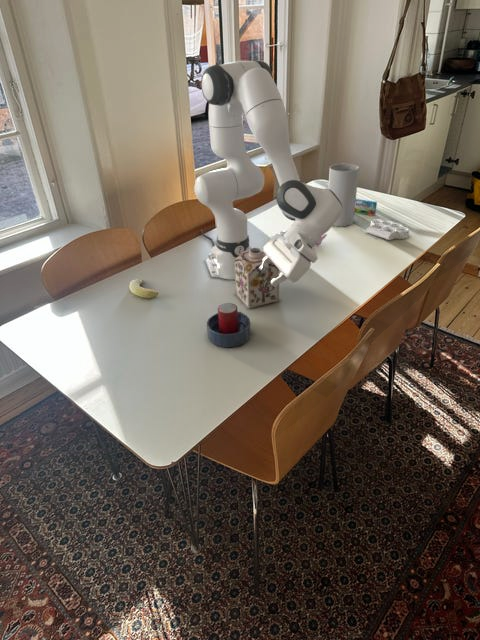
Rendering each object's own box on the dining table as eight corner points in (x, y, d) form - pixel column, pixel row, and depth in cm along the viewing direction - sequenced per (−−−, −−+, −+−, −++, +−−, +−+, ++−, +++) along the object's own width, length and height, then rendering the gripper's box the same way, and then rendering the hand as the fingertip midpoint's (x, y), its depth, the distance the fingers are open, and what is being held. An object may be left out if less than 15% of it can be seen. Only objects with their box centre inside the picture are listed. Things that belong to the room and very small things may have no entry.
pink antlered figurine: (310, 256, 188) (331, 239, 195) (309, 243, 184) (331, 226, 191) (298, 252, 191) (319, 235, 199) (297, 239, 188) (319, 223, 195)
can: (217, 332, 142) (214, 305, 137) (234, 327, 144) (232, 301, 139) (224, 342, 137) (222, 315, 132) (241, 336, 139) (240, 310, 134)
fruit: (140, 304, 159) (139, 296, 157) (124, 286, 170) (123, 278, 168) (159, 298, 162) (158, 289, 160) (143, 281, 173) (141, 273, 171)
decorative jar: (235, 294, 162) (232, 247, 152) (264, 286, 166) (264, 240, 156) (248, 310, 153) (247, 261, 143) (280, 301, 156) (280, 253, 147)
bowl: (202, 330, 144) (200, 317, 141) (240, 320, 148) (239, 306, 145) (217, 353, 134) (216, 339, 131) (257, 341, 138) (257, 327, 135)
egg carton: (359, 232, 203) (379, 223, 210) (394, 244, 191) (414, 234, 199) (360, 225, 201) (380, 216, 208) (395, 236, 189) (415, 226, 197)
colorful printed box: (350, 211, 224) (351, 199, 221) (351, 210, 225) (352, 198, 222) (374, 215, 219) (376, 202, 215) (375, 214, 220) (377, 201, 216)
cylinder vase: (333, 215, 221) (337, 162, 207) (357, 220, 215) (363, 165, 201) (321, 223, 213) (324, 169, 199) (346, 229, 206) (351, 172, 193)
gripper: (277, 222, 138) (247, 257, 141) (306, 249, 121) (271, 288, 124) (290, 234, 141) (261, 268, 144) (320, 261, 125) (286, 299, 128)
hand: (266, 277), depth 134 cm, fingers open, 8 cm apart
